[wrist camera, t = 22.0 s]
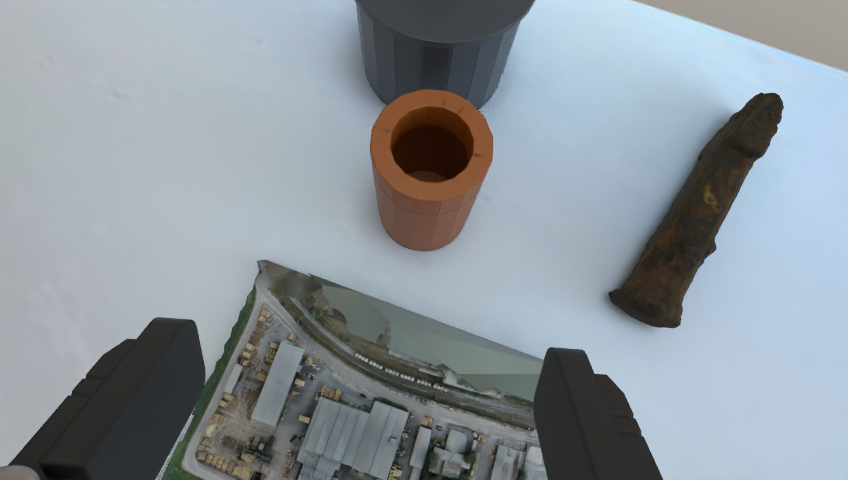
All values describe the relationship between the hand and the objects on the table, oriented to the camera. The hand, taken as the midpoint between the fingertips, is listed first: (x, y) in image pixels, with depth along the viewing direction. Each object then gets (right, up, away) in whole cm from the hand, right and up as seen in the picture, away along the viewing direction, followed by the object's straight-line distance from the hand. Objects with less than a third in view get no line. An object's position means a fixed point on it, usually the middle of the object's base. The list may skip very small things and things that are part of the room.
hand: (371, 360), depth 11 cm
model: (-4, -16, +16) cm, 23 cm away
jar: (+1, +5, +22) cm, 23 cm away
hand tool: (+20, +5, +23) cm, 31 cm away
